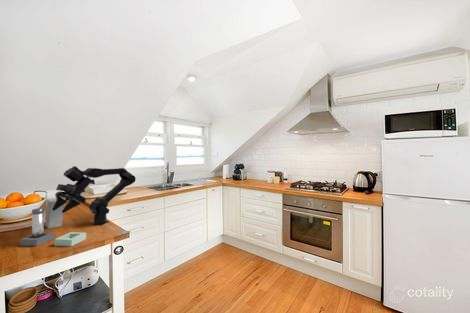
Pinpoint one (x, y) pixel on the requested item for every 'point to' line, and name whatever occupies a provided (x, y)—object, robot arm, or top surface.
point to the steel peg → (37, 223)
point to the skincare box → (53, 215)
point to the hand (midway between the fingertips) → (57, 211)
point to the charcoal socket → (36, 239)
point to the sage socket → (69, 239)
